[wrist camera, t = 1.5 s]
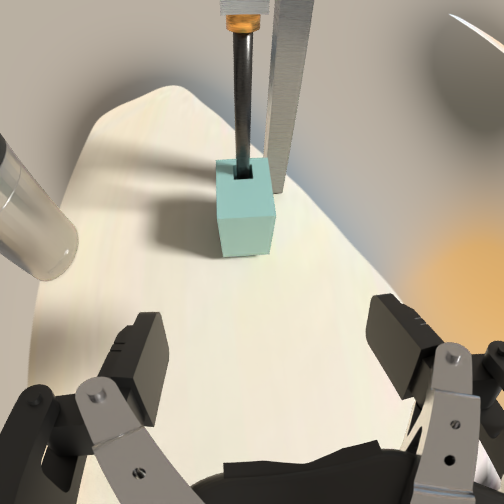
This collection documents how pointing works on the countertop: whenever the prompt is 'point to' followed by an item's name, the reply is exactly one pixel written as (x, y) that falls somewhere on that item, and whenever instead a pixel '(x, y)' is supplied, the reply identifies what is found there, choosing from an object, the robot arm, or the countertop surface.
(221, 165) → the sleeve
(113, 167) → the countertop surface
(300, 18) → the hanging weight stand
